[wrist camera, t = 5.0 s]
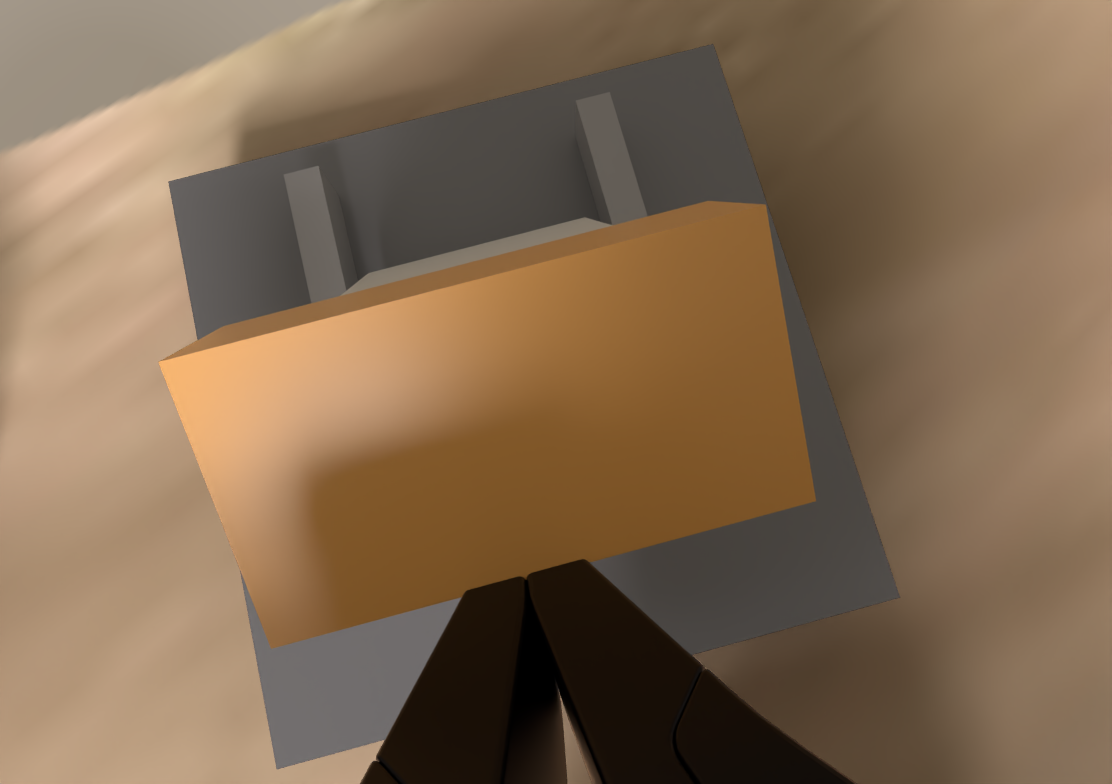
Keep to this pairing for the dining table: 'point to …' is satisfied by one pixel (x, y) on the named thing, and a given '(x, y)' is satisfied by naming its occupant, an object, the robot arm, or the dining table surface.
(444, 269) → the lever
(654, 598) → the box
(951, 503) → the dining table surface
